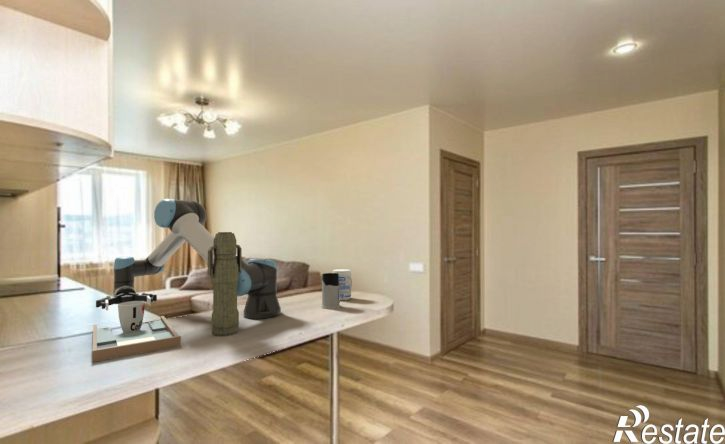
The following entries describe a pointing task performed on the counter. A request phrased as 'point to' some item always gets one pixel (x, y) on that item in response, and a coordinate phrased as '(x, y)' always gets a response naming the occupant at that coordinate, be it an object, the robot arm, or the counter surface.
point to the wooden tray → (133, 341)
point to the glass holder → (331, 290)
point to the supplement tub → (344, 283)
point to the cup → (131, 315)
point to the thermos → (225, 283)
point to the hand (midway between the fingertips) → (129, 304)
